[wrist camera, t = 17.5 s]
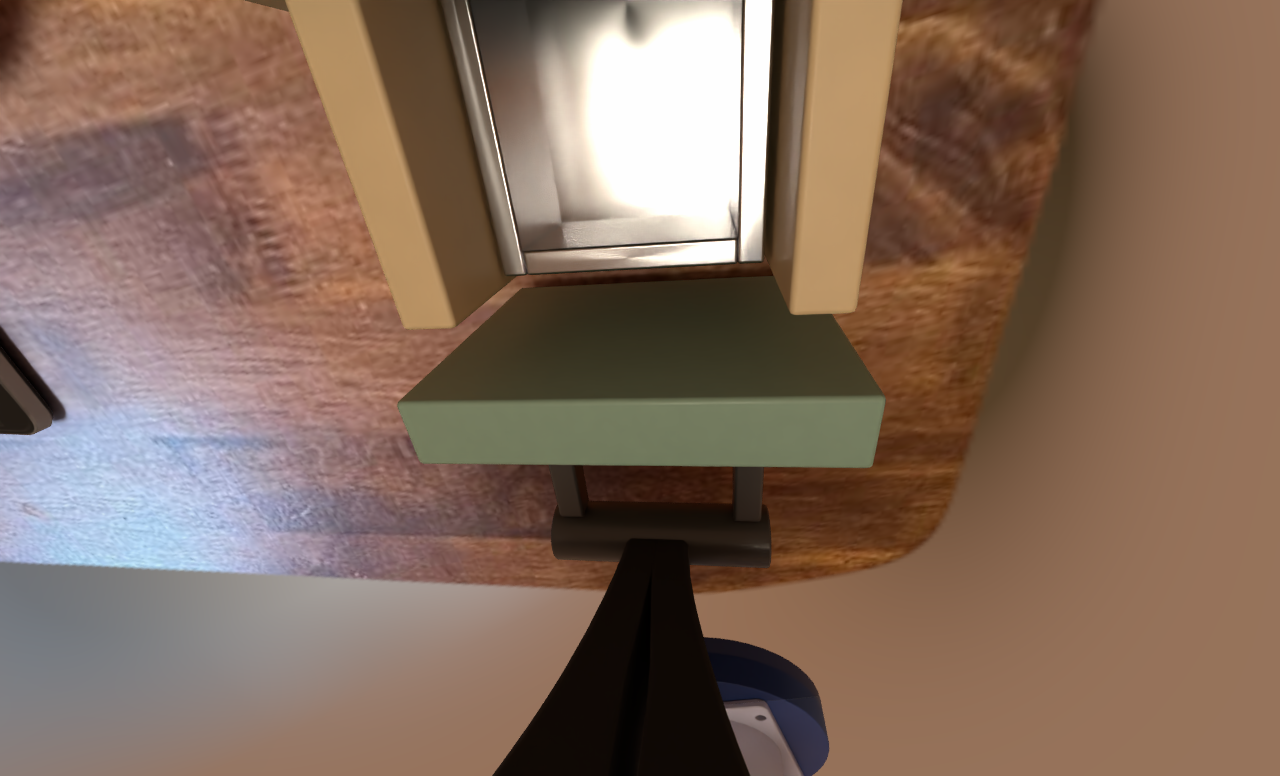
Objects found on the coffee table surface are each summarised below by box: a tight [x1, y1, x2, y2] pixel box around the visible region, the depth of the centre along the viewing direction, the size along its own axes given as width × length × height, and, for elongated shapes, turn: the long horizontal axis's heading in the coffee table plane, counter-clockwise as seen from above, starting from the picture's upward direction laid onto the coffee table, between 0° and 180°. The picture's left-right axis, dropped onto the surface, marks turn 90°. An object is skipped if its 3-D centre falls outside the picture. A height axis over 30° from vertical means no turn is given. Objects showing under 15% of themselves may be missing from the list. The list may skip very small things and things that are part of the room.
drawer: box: [285, 0, 903, 568], centre depth 8 cm, size 16×7×6 cm, turn 5°
